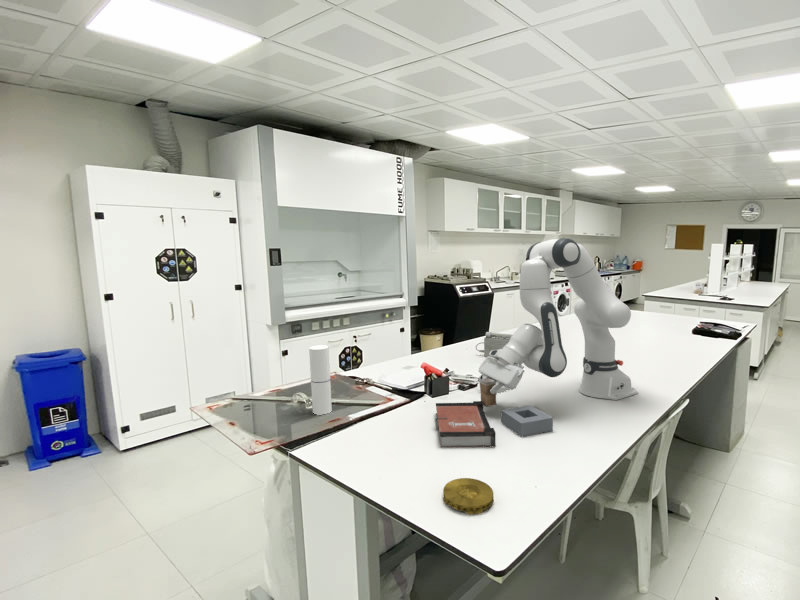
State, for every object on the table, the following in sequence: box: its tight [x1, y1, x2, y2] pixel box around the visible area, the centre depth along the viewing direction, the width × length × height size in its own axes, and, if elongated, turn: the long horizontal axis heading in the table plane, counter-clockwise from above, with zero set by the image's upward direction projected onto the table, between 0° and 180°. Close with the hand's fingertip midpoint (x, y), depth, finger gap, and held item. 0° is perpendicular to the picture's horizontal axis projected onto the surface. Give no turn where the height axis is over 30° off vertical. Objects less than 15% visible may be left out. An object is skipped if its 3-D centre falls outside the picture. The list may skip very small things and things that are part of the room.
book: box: [435, 400, 496, 448], centre depth 141 cm, size 26×18×5 cm
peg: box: [479, 378, 497, 408], centre depth 153 cm, size 4×4×9 cm
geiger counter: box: [475, 331, 513, 358], centre depth 228 cm, size 14×6×25 cm
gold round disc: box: [442, 477, 494, 515], centre depth 102 cm, size 12×12×2 cm
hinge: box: [478, 374, 511, 395], centre depth 178 cm, size 17×5×10 cm, turn 125°
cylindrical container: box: [308, 344, 333, 416], centre depth 158 cm, size 7×7×25 cm
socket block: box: [500, 404, 554, 438], centre depth 142 cm, size 12×12×4 cm
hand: (486, 390), depth 153 cm, fingers closed on peg, 4 cm apart
